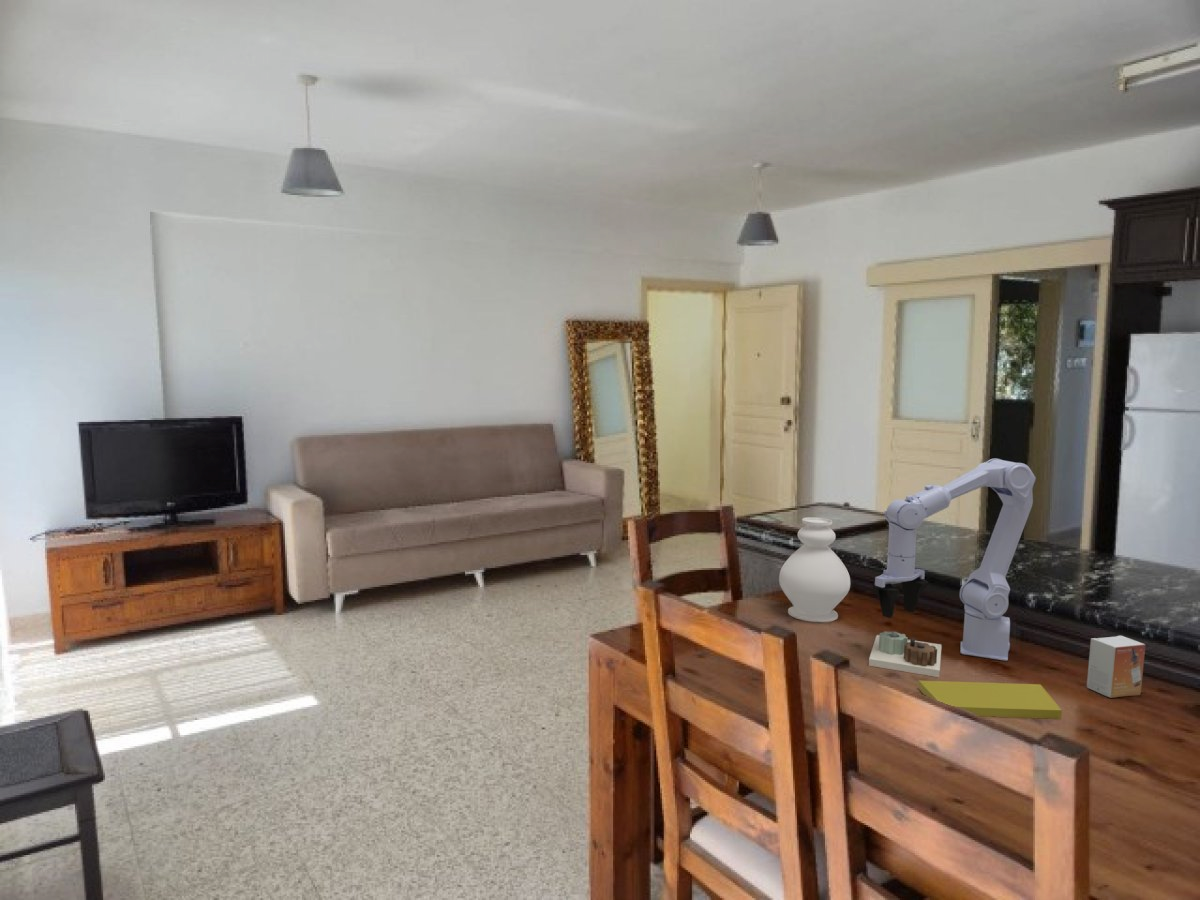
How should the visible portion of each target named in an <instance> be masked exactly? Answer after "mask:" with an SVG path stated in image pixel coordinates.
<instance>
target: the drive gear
mask: <svg viewBox="0 0 1200 900" xmlns="http://www.w3.org/2000/svg"><path fill="white" fill-rule="evenodd" d="M909 640H910V642H908V643H907V644H905V645H904V658H905V661H907V662H912V664H915V665H917V664H919V665H922V666H927V665H931V666H933V665H934V663H936V662H937V649H936V647H935V646H930V645H929V644H927V643H928V642H927V643H920V642H915V641H916V638H914V637H910V639H909Z"/></svg>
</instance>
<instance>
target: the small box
mask: <svg viewBox="0 0 1200 900" xmlns="http://www.w3.org/2000/svg"><path fill="white" fill-rule="evenodd" d="M1089 647H1090V648H1089V657H1088V669H1087V679H1086V688H1087V689H1089V690H1091V691H1094V692H1095V693H1096V692H1097V693H1099V694H1101V695H1103V696H1105V697H1107V698H1109V699H1113V698H1119V697H1129V696H1130V697H1131V696H1140V695H1141V693H1142V684H1143V673H1144V663H1145V655H1146V654H1145V652H1146V644H1145V643H1143V642H1139V641H1137V640H1135V639H1132V638H1129V637H1126V636H1123V635H1117V636H1109V637H1097V638H1096V637H1094V638H1090V645H1089Z"/></svg>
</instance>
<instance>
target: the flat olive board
mask: <svg viewBox="0 0 1200 900" xmlns="http://www.w3.org/2000/svg"><path fill="white" fill-rule="evenodd" d="M917 687H918V688H917V689H918V690H919V691H920V692H921V693H922V694H923V695H924V696H925V695H926V696H928V697H931V698H933V699H935V700H937V701H940V702H943V703H945V704H948V705H951V706H955V707H959V708H962V709H965V710H967V711H969V712H972V713H974V714H976V715H979V716H978V717H983V718H984V717H985V718H986V717H987V718H989V717H990V718H993V717H992V716H996V717H995V718H1016V719H1017V718H1019V719H1020V718H1021V719H1050V720H1062V715H1063V714H1062V709H1061V708H1060V706H1059V705H1058V704H1057V703H1056V701H1055V700H1054V699H1053V698H1052V697H1051V695H1050V694H1049V693H1048V692H1047V691H1046V689H1045V688H1044V687H1043V686H1042V685H1041V683H1038V684H1037V683H1035V684H1034V683H1013V682H1012V683H1010V682H1009V683H1008V682H982V681H981V682H980V681H979V682H976V681H975V682H974V681H946V680H918V685H917ZM926 696H925V697H926Z"/></svg>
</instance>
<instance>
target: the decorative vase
mask: <svg viewBox="0 0 1200 900" xmlns="http://www.w3.org/2000/svg"><path fill="white" fill-rule="evenodd" d="M801 523H802V524H804V526H802V527H801V528H800V529H799V530H798V531H797V538H798V539H799V541H800V542H801V543H802V544H803V545H802V546H800V547H799V548H798V549H796V550H795V551H794V552H793V553H792V554H791V555H790V556H789V557H788V558H787V559H786V561H785V562H784V564H783V565H782V566H781V569H780V571H779V576H778V581H779V587H780V588H781V590H782V592H783V593H784V595H785V596H786V597H787V598H788V599H787V600H789V602H790V603H791V604H792V606H790V607H789V608H788V609H787V613H788V615H789V616H791V617H792V618H795V619H797V620H801V621H803V622H804V621H805V622H812V623H828V622H833V621H834V622H835V621H836V620H837V619H838V617H839V614H838V612H837V611H835V608H836V606H838V605H839V604H840V603H841V602H842V601H843V600H844V598H845V597H846V596H847V595H848V593H849V591H850V589H851V577H850V574H849V573H850V572H848V569H847V567H846V566H845V564H844V563H843V561H842V560H841V559H840V557H839V556H838V555H837V554H836V553H835V552H834V551H833V550H832V548H830V547H829V546H830V545H831V544H833V543H834V541H836V532H834V530H832V528H831V527H829V526H831V525H833V520H832V519H830V518H825V517H817V516H815V517H813V516H811V517H810V516H809V517H808V516H807V517H803V518H802V519H801Z"/></svg>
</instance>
